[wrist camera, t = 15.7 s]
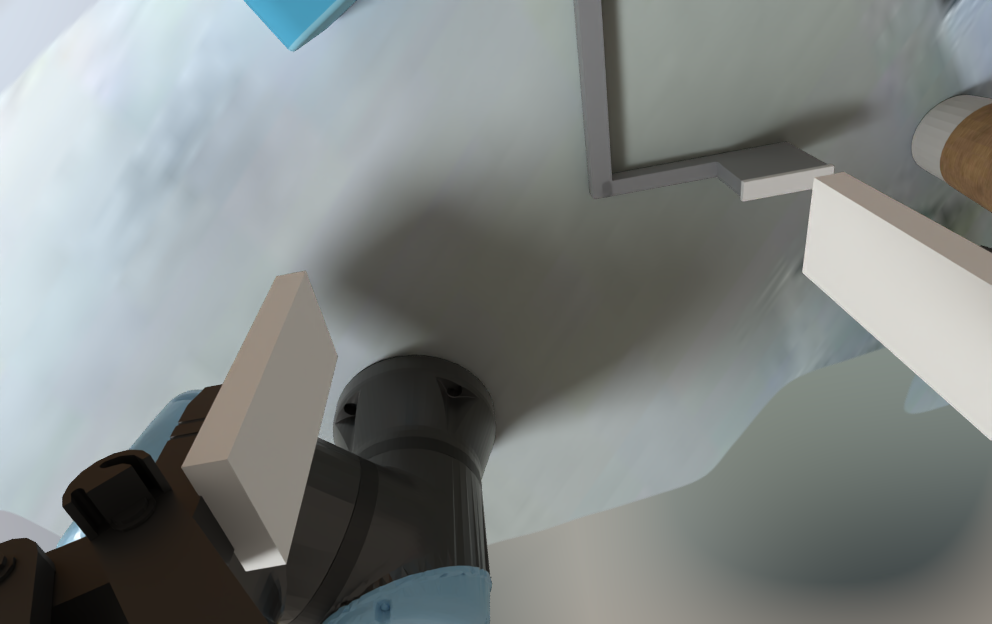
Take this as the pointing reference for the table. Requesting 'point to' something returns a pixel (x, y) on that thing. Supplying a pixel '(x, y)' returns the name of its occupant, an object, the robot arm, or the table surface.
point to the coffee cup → (958, 146)
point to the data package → (298, 18)
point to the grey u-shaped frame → (739, 170)
